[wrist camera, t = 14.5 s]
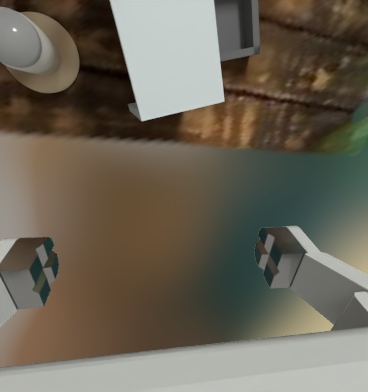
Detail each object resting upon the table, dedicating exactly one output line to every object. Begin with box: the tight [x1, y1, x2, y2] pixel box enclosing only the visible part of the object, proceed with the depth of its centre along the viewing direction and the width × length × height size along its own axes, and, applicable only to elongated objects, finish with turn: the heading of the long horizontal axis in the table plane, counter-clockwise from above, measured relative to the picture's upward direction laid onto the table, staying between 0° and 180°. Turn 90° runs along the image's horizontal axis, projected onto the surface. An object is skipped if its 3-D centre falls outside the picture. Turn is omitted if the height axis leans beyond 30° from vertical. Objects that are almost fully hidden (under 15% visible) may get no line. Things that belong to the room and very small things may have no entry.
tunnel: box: [109, 0, 224, 121], centre depth 27 cm, size 9×18×15 cm, turn 12°
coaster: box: [5, 12, 79, 93], centre depth 31 cm, size 9×9×1 cm
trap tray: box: [214, 0, 260, 62], centre depth 34 cm, size 10×10×3 cm
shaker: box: [0, 7, 61, 76], centre depth 26 cm, size 5×5×11 cm
